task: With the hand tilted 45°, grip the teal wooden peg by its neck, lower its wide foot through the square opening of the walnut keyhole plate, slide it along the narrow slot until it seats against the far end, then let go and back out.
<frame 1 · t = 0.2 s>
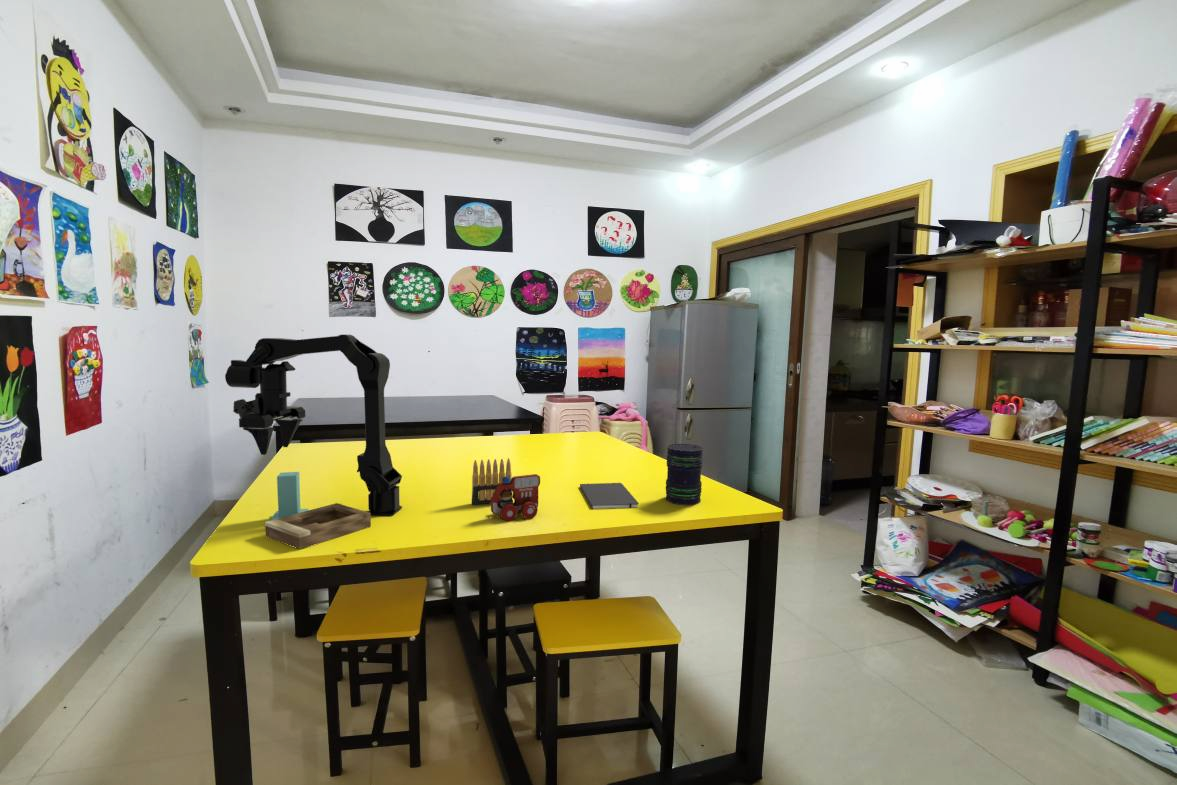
hand: (274, 450, 139), 15 cm above the table, tool pointing down, fingers open, 9 cm apart
peg: (289, 519, 133), on the table
keyhole plate: (319, 531, 125), on the table
storage jar: (683, 500, 155), on the table
toy fire truck: (515, 516, 139), on the table
notebook: (607, 499, 157), on the table
ammunition clip: (492, 503, 149), on the table
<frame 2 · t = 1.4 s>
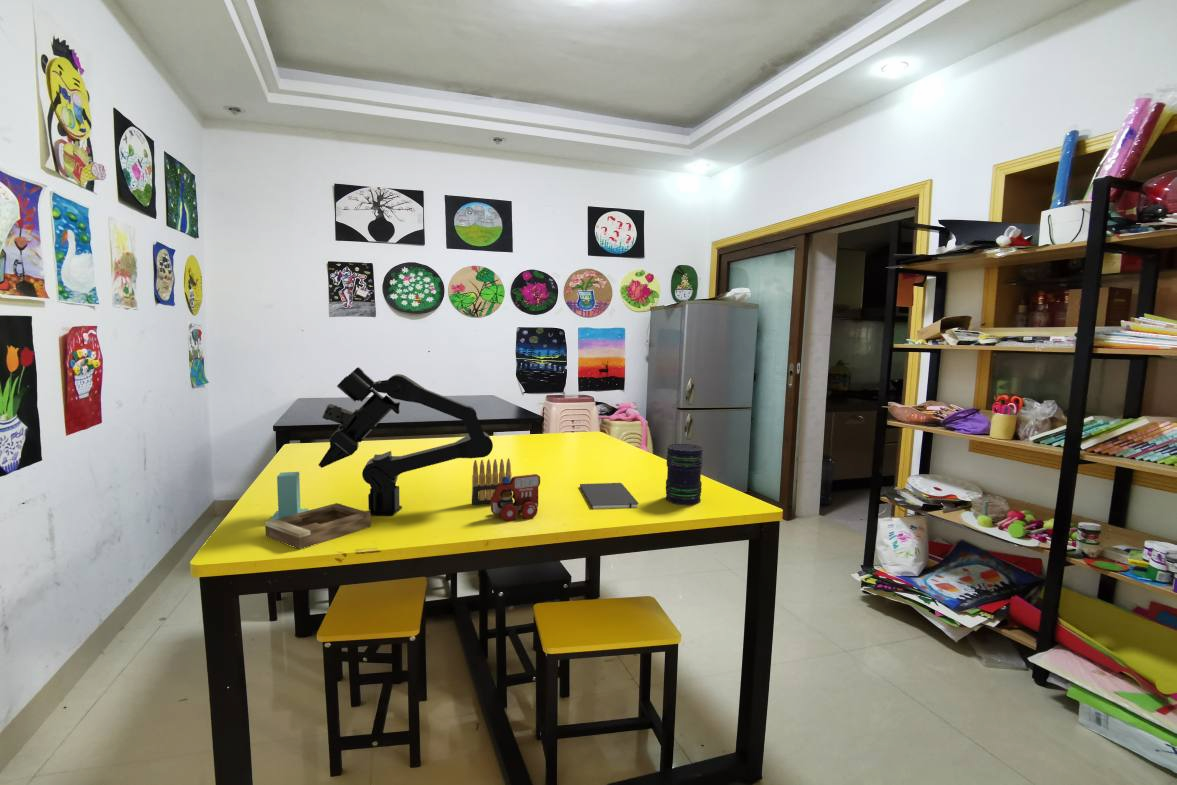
hand: (323, 462, 134), 13 cm above the table, tool tilted 45°, fingers open, 9 cm apart
nothing on the table moved.
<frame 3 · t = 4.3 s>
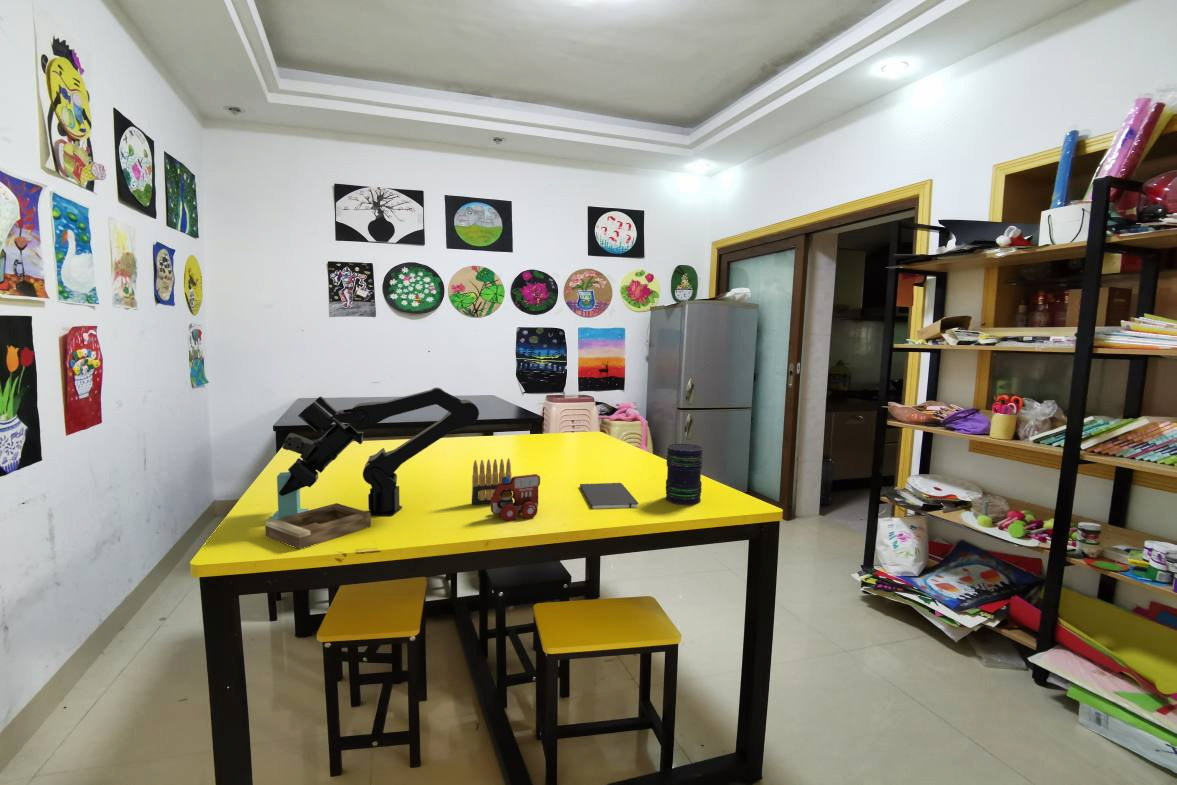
hand: (282, 492, 132), 7 cm above the table, tool tilted 45°, fingers closed on peg, 4 cm apart
peg: (289, 518, 133), on the table, touching gripper
everything else where it was.
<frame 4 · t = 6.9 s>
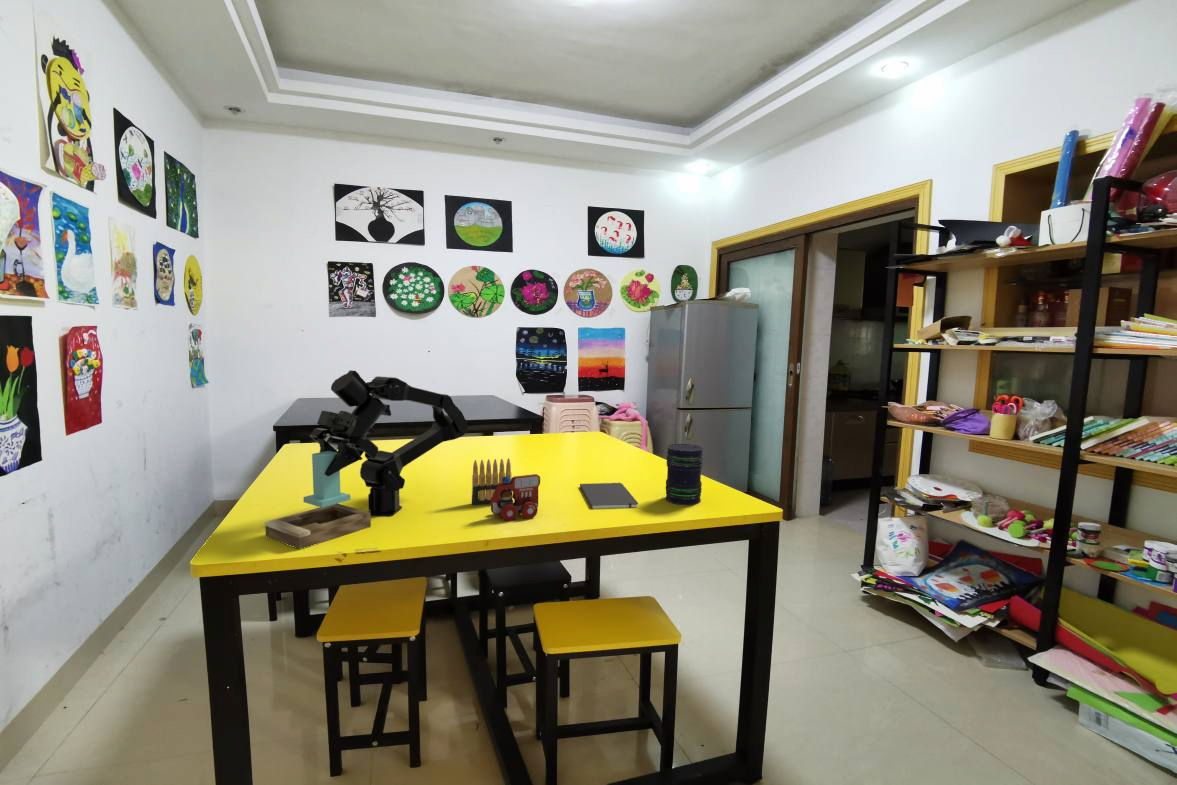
hand: (320, 473, 124), 13 cm above the table, tool tilted 45°, fingers closed on peg, 4 cm apart
peg: (327, 501, 126), point 7 cm above the table, touching gripper
everything else where it was.
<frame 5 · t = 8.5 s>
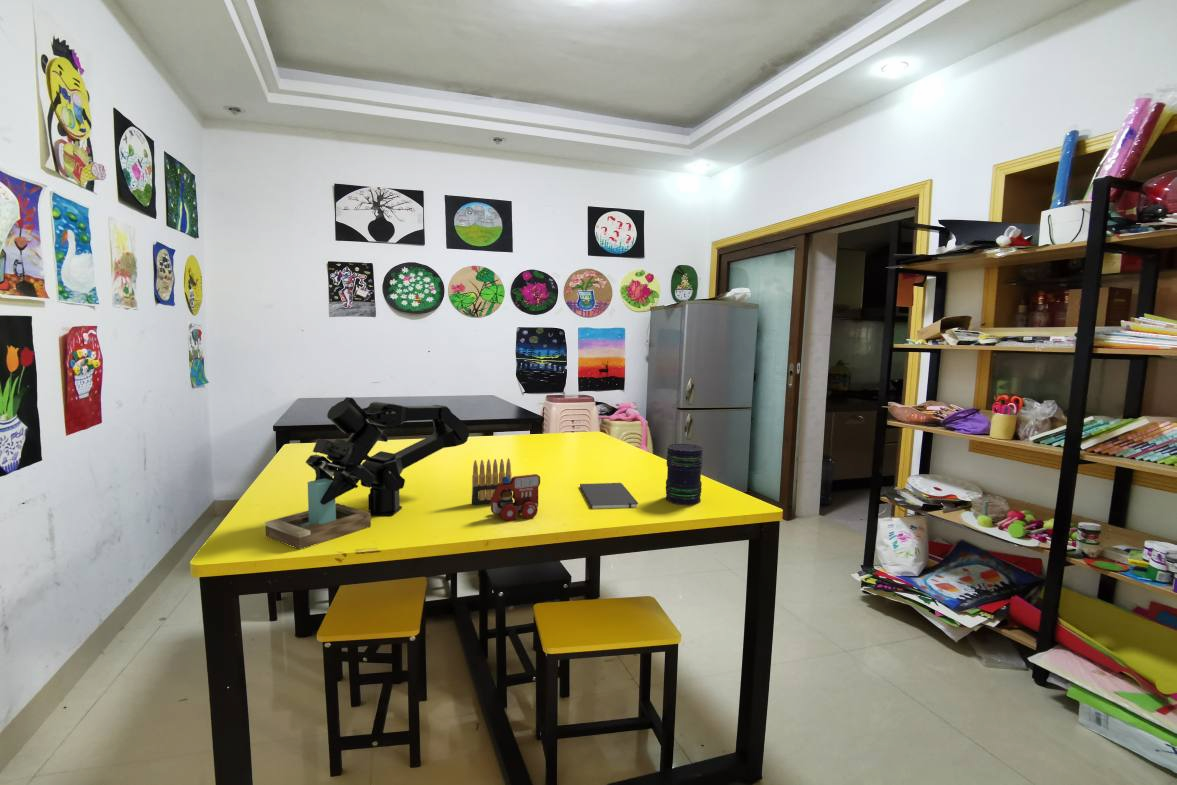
hand: (316, 502, 124), 7 cm above the table, tool tilted 45°, fingers closed on peg, 4 cm apart
peg: (322, 529, 126), resting in keyhole plate, touching gripper
everything else where it was.
when the fingers open (7 cm above the table, at t = 9.7 s): peg stays where it is, resting in keyhole plate.
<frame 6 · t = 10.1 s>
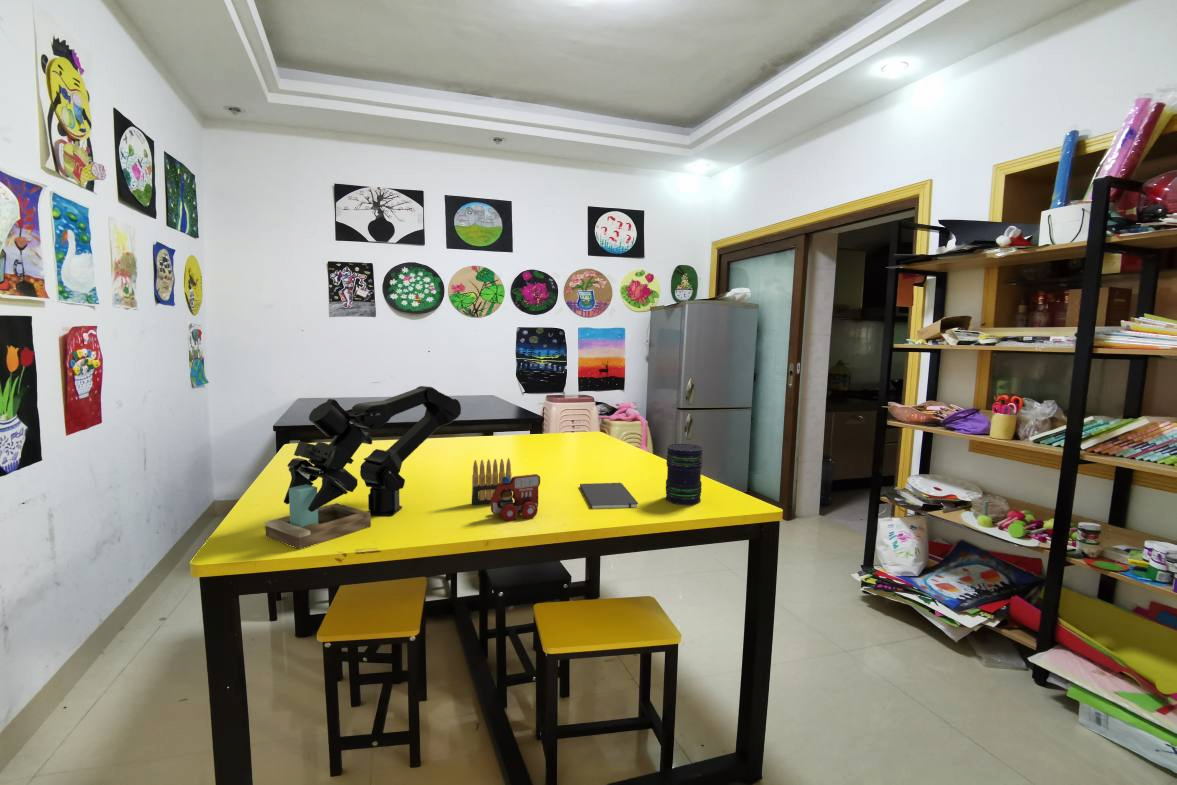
hand: (297, 506, 120), 7 cm above the table, tool tilted 45°, fingers open, 9 cm apart
peg: (304, 536, 122), resting in keyhole plate
everything else where it was.
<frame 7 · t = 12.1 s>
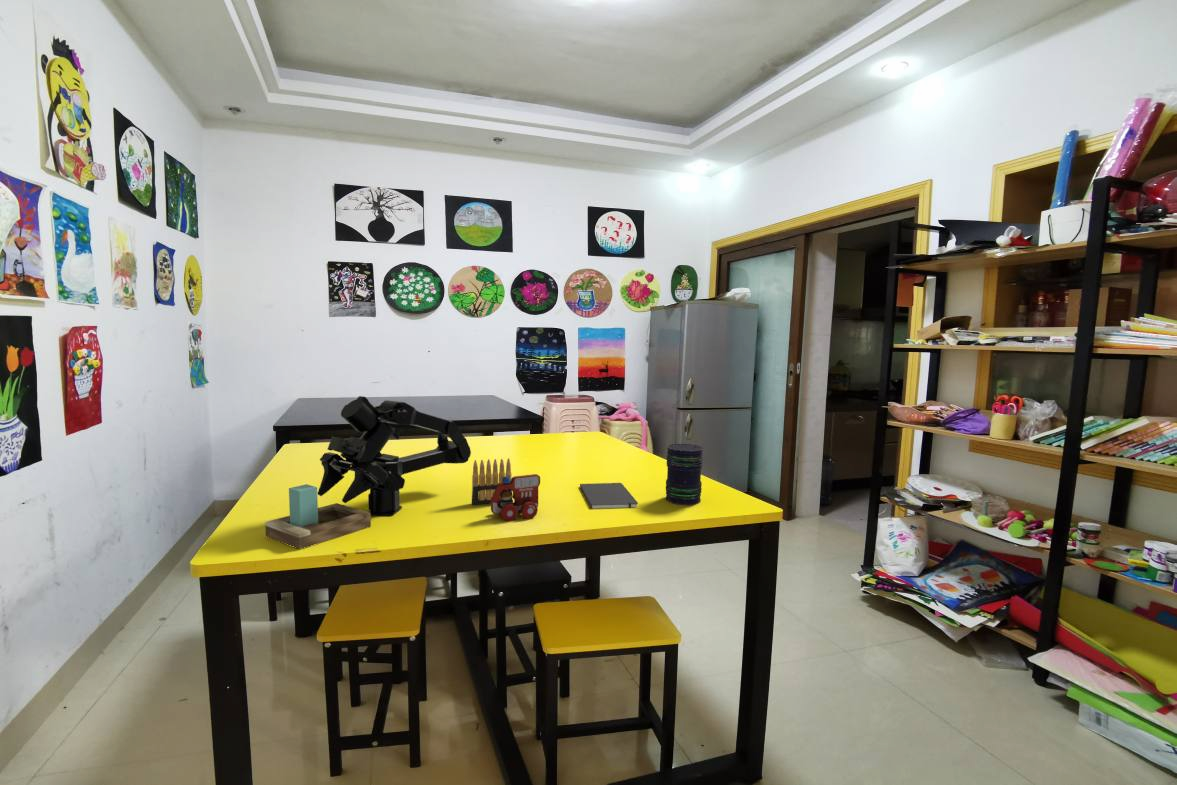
hand: (331, 498, 127), 7 cm above the table, tool tilted 45°, fingers open, 9 cm apart
nothing on the table moved.
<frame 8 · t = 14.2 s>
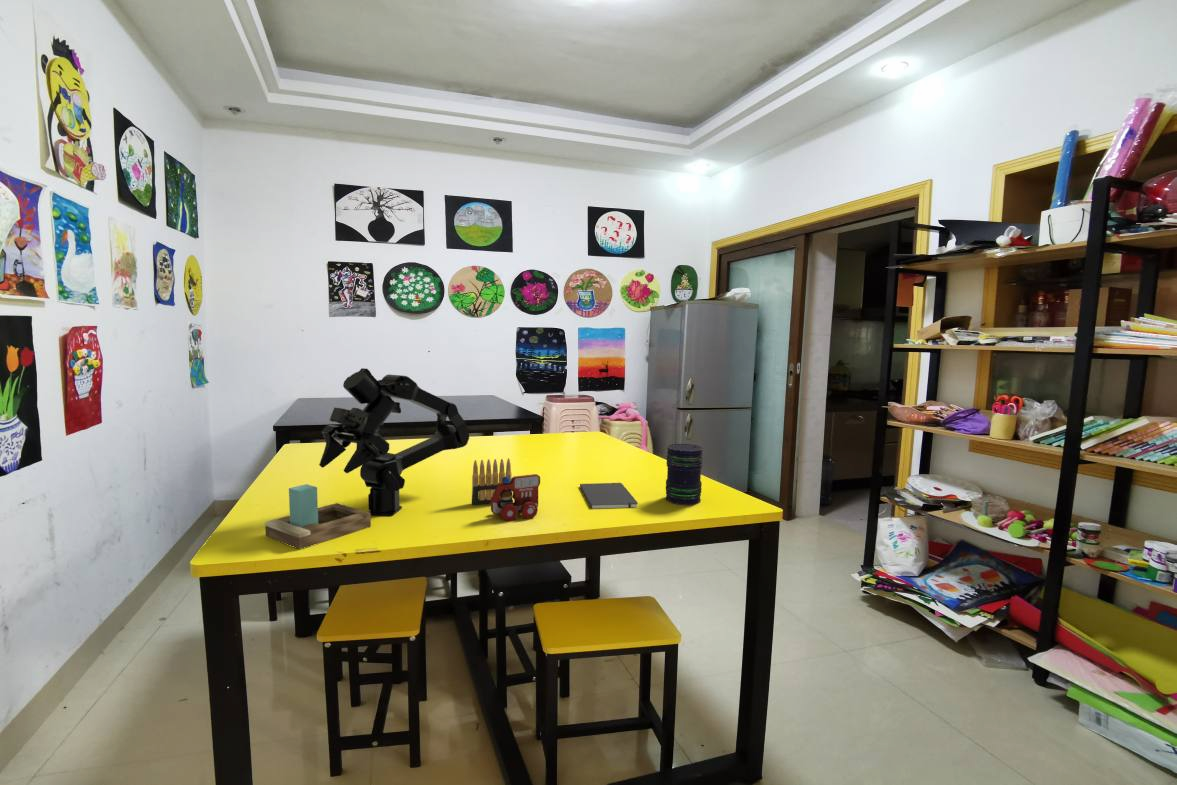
hand: (332, 469, 127), 14 cm above the table, tool tilted 45°, fingers open, 9 cm apart
nothing on the table moved.
at the end: peg 0.1 cm from the target spot, resting in keyhole plate; peg tilted 0°; the gripper is holding nothing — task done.
